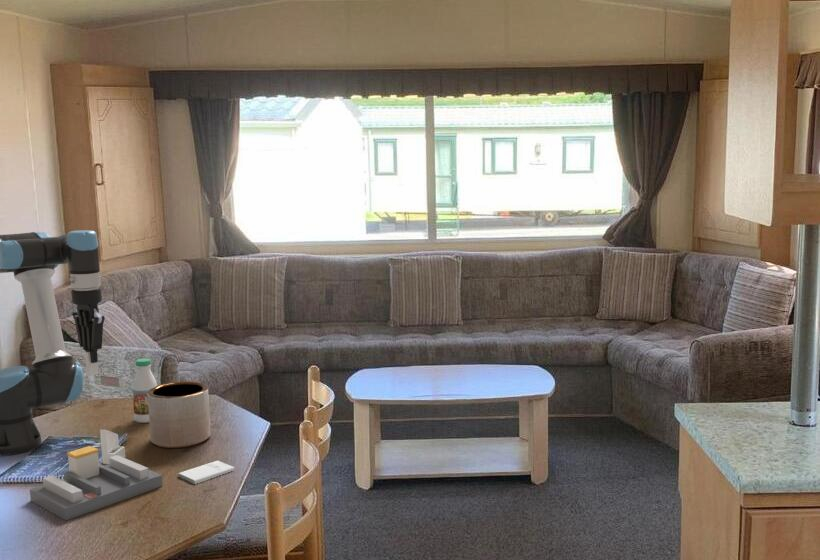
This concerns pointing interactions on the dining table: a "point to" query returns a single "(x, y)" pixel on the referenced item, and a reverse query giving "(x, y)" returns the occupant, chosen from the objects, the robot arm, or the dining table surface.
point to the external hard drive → (205, 472)
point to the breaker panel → (94, 488)
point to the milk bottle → (142, 390)
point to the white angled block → (110, 446)
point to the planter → (179, 414)
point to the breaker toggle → (84, 462)
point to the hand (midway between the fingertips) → (92, 373)
